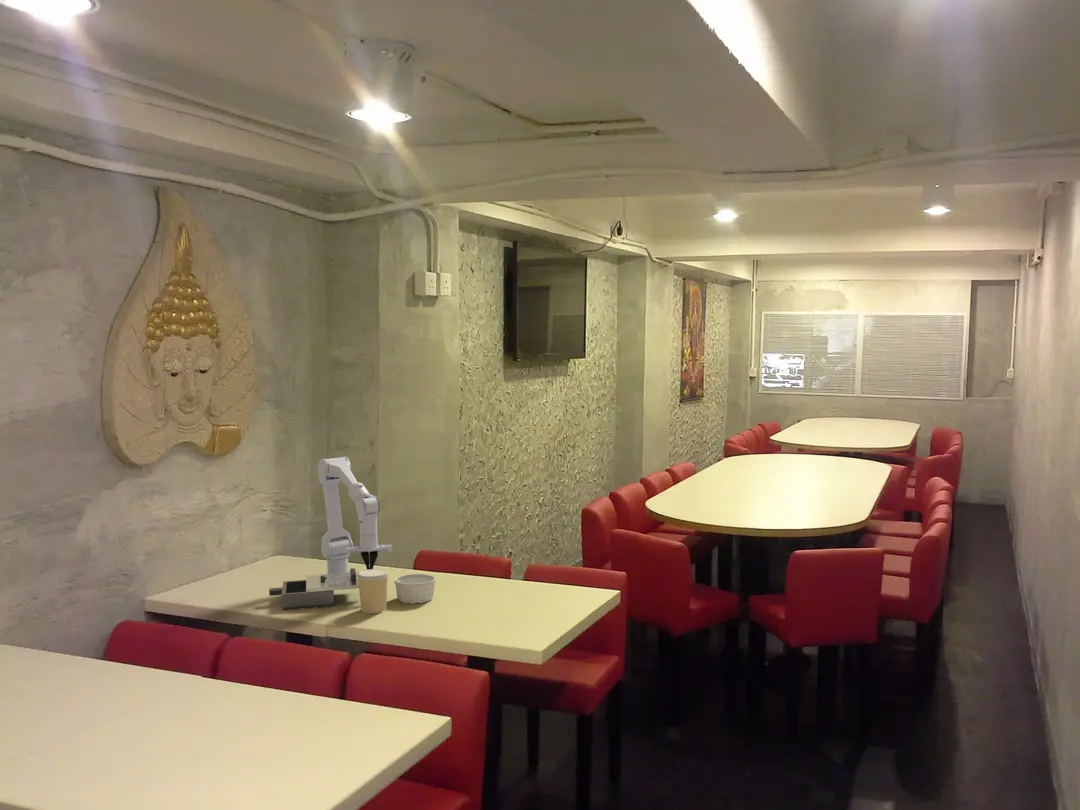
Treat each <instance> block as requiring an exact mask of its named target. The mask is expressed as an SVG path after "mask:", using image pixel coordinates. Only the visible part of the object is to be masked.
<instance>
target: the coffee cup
mask: <svg viewBox="0 0 1080 810" xmlns="http://www.w3.org/2000/svg"><path fill="white" fill-rule="evenodd" d="M358 573H359V575H358V581H359V588H358V591H359V602H360V609H361V610H360V611H361V613H363V612H365V613H364V614H366V613H377V614H379V613H378V612H381V613H383V612H382V611H384V610H385V611H386V610H387V601H388V582H389V581H388V579H389V578H388V577H389V573H388V571H387V570H385V569H382V568H381V569H380V568H373V569H369V570H367V569H365V570H362V571H358ZM385 611H384V612H385Z"/></svg>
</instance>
